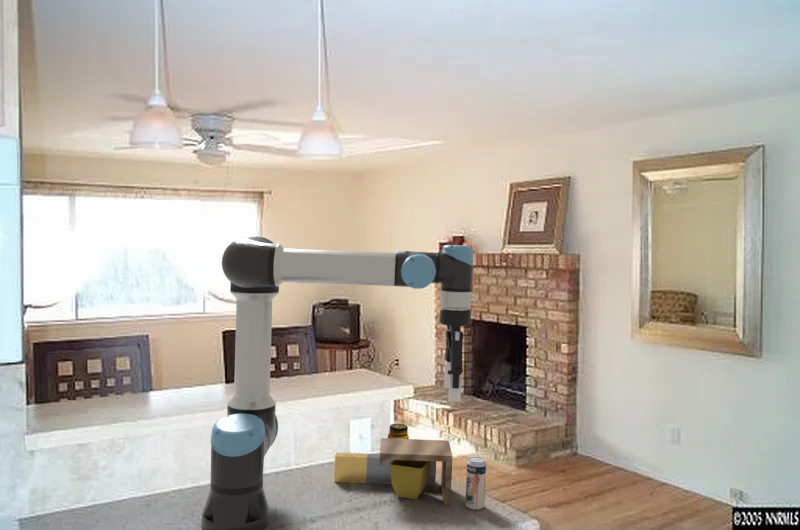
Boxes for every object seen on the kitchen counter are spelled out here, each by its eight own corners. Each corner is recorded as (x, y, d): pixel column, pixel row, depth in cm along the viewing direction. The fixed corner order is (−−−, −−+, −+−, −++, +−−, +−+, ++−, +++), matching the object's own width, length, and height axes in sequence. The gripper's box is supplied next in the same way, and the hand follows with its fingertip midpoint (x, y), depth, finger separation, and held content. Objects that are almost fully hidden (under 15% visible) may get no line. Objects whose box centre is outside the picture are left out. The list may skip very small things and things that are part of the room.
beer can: (461, 504, 166) (463, 457, 166) (477, 502, 168) (480, 455, 168) (471, 512, 162) (473, 463, 161) (488, 509, 164) (490, 461, 163)
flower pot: (421, 504, 166) (422, 469, 165) (388, 498, 168) (389, 463, 168) (430, 491, 174) (432, 457, 173) (398, 486, 177) (400, 453, 176)
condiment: (413, 468, 190) (415, 427, 190) (388, 473, 186) (390, 431, 185) (399, 460, 196) (401, 420, 196) (374, 465, 192) (376, 424, 191)
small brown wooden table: (378, 502, 166) (379, 453, 165) (379, 484, 178) (380, 438, 177) (450, 505, 166) (452, 455, 165) (446, 486, 178) (448, 440, 177)
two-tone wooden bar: (334, 482, 178) (335, 456, 178) (335, 477, 181) (336, 452, 181) (435, 485, 178) (436, 459, 178) (434, 481, 181) (435, 456, 181)
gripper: (477, 315, 150) (473, 408, 152) (465, 303, 175) (462, 382, 177) (444, 314, 150) (440, 407, 152) (437, 302, 175) (433, 381, 176)
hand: (451, 394), depth 164 cm, fingers open, 13 cm apart
